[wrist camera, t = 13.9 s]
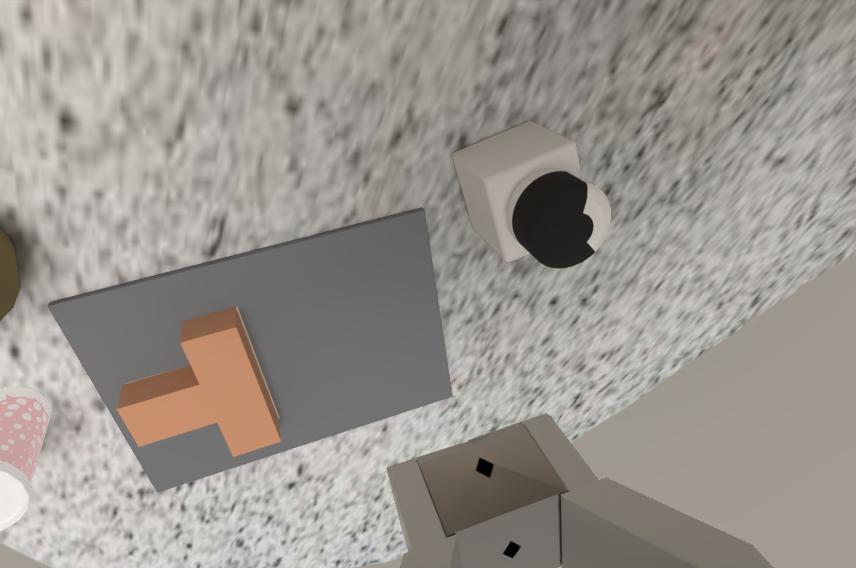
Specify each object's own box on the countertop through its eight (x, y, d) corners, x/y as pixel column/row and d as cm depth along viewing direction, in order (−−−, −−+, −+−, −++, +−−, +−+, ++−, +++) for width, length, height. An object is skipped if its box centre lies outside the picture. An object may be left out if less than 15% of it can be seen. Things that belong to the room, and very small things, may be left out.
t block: (235, 307, 44) (236, 327, 41) (278, 418, 50) (280, 441, 47) (100, 344, 42) (92, 367, 39) (162, 454, 48) (158, 481, 45)
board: (421, 207, 45) (424, 210, 45) (450, 392, 55) (452, 396, 55) (50, 302, 40) (47, 306, 39) (158, 487, 50) (157, 492, 50)
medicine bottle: (472, 229, 47) (537, 297, 37) (449, 152, 44) (515, 204, 34) (546, 197, 48) (629, 254, 38) (530, 118, 44) (618, 159, 34)
